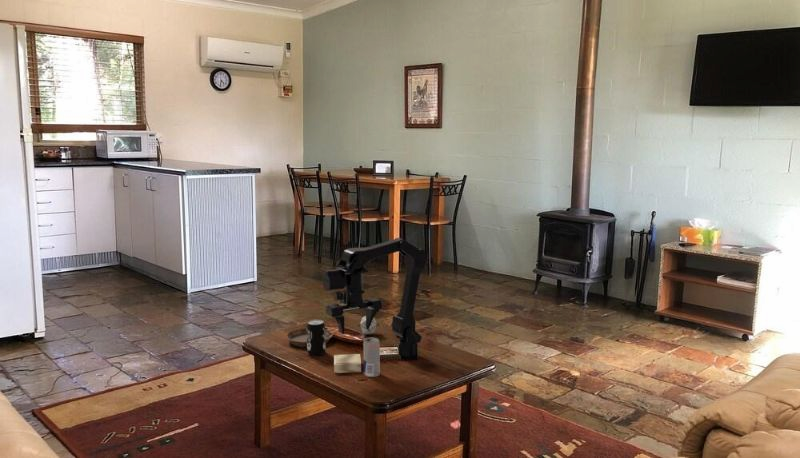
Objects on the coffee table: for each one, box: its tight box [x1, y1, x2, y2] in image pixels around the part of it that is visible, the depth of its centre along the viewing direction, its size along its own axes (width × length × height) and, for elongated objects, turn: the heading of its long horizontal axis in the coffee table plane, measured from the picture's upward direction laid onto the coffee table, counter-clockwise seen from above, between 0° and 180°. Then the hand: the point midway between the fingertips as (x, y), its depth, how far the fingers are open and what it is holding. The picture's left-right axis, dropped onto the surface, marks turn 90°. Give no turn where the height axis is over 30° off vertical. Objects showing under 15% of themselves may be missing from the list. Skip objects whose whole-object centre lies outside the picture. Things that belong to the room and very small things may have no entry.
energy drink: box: [362, 336, 381, 378], centre depth 208 cm, size 5×5×12 cm
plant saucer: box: [285, 327, 333, 348], centre depth 242 cm, size 18×18×3 cm
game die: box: [357, 314, 380, 336], centre depth 249 cm, size 9×8×10 cm
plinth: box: [333, 353, 362, 374], centre depth 215 cm, size 9×9×3 cm
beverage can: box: [306, 319, 326, 357], centre depth 228 cm, size 7×7×12 cm
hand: (355, 331), depth 212 cm, fingers open, 9 cm apart
